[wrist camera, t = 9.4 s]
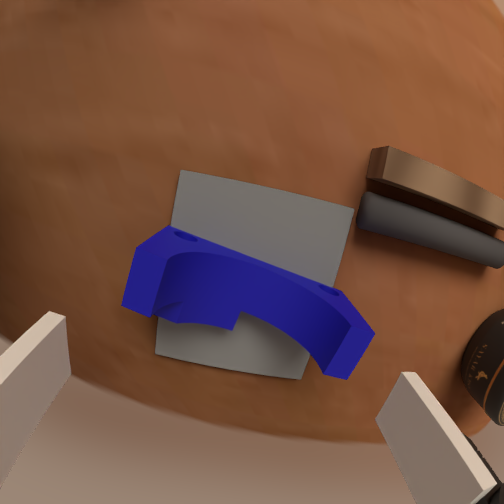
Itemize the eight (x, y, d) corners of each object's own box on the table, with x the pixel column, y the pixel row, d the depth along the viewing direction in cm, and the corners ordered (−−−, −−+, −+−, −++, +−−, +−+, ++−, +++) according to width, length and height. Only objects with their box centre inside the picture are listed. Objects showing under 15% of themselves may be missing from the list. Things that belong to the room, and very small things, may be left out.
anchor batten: (366, 177, 18) (382, 178, 16) (372, 148, 18) (389, 145, 16) (497, 228, 20) (516, 234, 17) (502, 206, 19) (521, 210, 17)
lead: (352, 223, 20) (365, 233, 17) (362, 189, 19) (376, 194, 17) (485, 262, 21) (501, 272, 18) (494, 236, 20) (511, 245, 18)
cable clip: (148, 288, 19) (115, 330, 14) (168, 225, 18) (136, 247, 13) (312, 345, 21) (333, 399, 15) (341, 291, 20) (375, 333, 14)
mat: (156, 350, 21) (155, 353, 21) (182, 169, 18) (180, 169, 18) (299, 375, 22) (300, 379, 21) (351, 208, 19) (354, 208, 18)
